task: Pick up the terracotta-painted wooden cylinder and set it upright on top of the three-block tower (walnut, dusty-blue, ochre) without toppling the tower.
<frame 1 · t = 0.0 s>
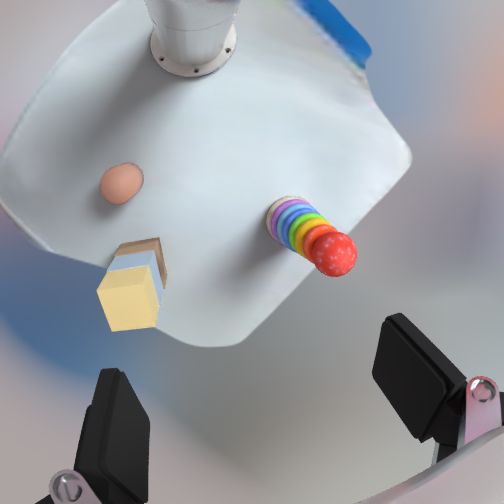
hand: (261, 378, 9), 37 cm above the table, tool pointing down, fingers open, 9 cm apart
tower top: (133, 288, 36), point 10 cm above the table, touching tower mid
tower mid: (139, 272, 40), point 5 cm above the table, touching tower base, tower top
cylinder: (127, 179, 40), on the table
stacking toy: (288, 218, 47), on the table
tower base: (144, 259, 45), on the table, touching tower mid
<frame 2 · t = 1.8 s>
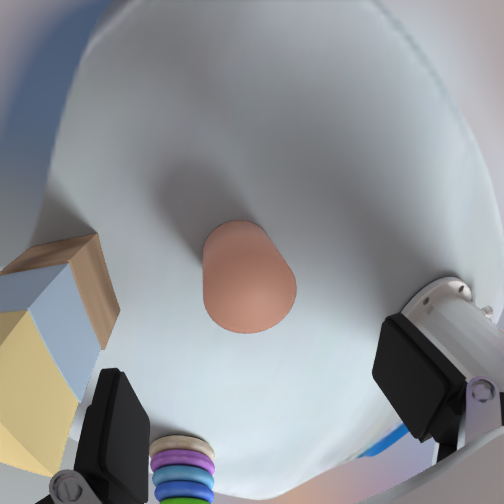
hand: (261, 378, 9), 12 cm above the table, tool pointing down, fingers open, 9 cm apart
tower top: (14, 361, 10), point 10 cm above the table, touching tower mid
tower mid: (48, 312, 15), point 5 cm above the table, touching tower base, tower top
cylinder: (237, 254, 21), on the table
stacking toy: (181, 447, 29), on the table
tower base: (73, 278, 20), on the table, touching tower mid
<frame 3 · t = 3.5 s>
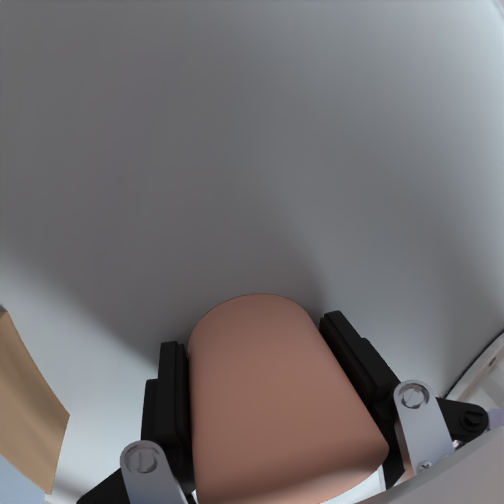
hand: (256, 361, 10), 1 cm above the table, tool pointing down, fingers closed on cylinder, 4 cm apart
cylinder: (253, 349, 11), on the table, touching gripper
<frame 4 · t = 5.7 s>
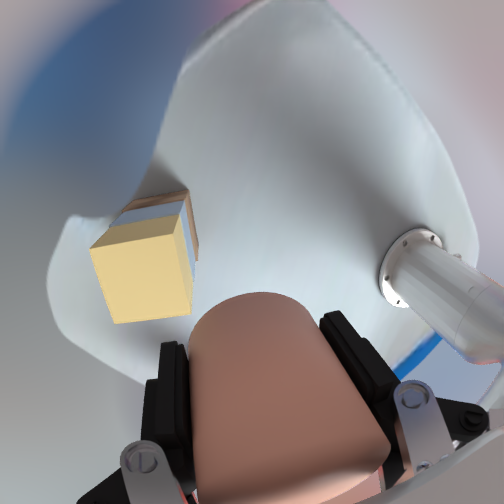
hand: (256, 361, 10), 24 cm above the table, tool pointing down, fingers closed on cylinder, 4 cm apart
tower top: (151, 255, 23), point 10 cm above the table, touching tower mid
tower mid: (159, 235, 27), point 5 cm above the table, touching tower base, tower top
cylinder: (254, 348, 11), point 23 cm above the table, touching gripper
tower base: (165, 222, 32), on the table, touching tower mid
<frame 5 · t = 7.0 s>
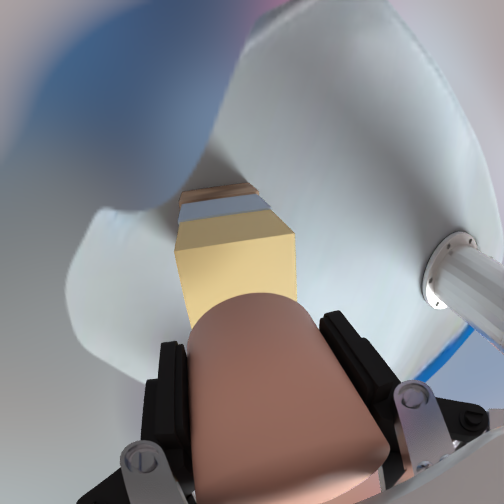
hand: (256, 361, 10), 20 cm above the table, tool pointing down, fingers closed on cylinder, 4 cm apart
tower top: (230, 257, 19), point 10 cm above the table, touching tower mid
tower mid: (223, 234, 24), point 5 cm above the table, touching tower base, tower top
cylinder: (253, 348, 11), point 19 cm above the table, touching gripper
tower base: (219, 218, 29), on the table, touching tower mid
when the fingers open (17 cm above the table, at t = 8.1 s): cylinder drops 1 cm, resting on tower top.
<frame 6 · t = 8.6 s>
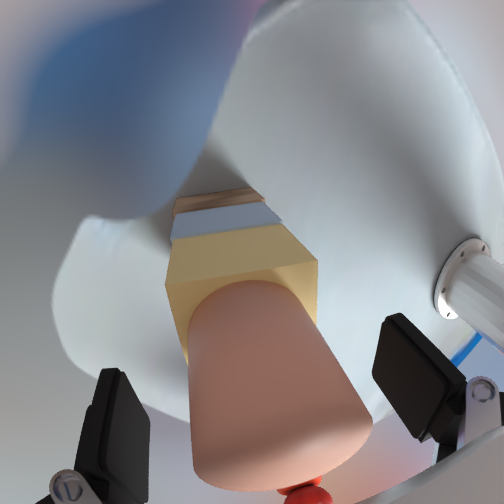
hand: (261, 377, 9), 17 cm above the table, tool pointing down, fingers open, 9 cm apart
tower top: (234, 280, 16), point 10 cm above the table, touching cylinder, tower mid
tower mid: (224, 248, 21), point 5 cm above the table, touching tower base, tower top
cylinder: (248, 333, 12), point 15 cm above the table, touching tower top
stacking toy: (269, 399, 35), on the table
tower base: (219, 228, 26), on the table, touching tower mid
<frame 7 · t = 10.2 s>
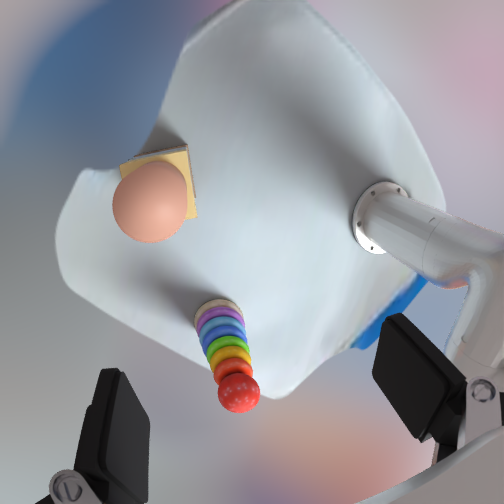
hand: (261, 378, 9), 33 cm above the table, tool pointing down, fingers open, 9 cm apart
tower top: (162, 182, 28), point 10 cm above the table, touching cylinder, tower mid
cylinder: (157, 190, 23), point 15 cm above the table, touching tower top
stacking toy: (217, 317, 47), on the table
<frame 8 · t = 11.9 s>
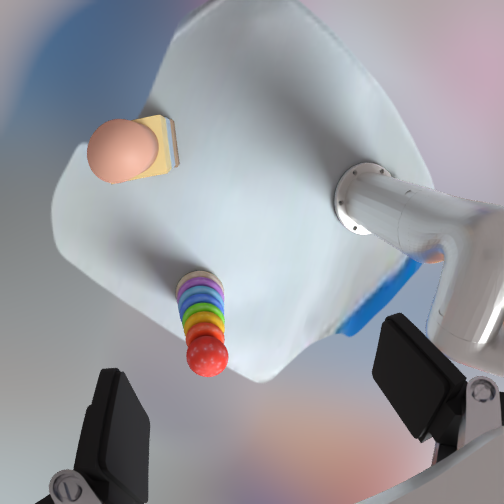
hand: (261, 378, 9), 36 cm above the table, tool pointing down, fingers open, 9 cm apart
tower top: (143, 148, 30), point 10 cm above the table, touching cylinder, tower mid
cylinder: (133, 148, 25), point 15 cm above the table, touching tower top
stacking toy: (199, 290, 48), on the table
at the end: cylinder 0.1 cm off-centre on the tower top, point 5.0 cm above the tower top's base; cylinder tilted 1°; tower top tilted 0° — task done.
